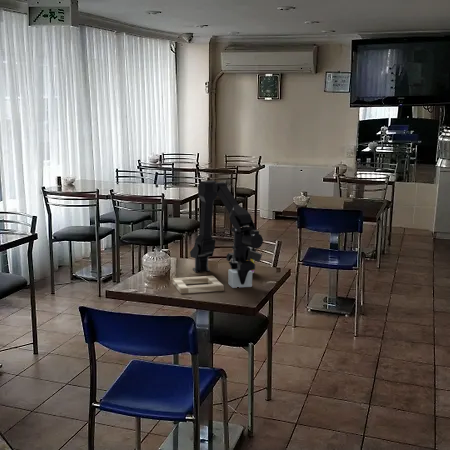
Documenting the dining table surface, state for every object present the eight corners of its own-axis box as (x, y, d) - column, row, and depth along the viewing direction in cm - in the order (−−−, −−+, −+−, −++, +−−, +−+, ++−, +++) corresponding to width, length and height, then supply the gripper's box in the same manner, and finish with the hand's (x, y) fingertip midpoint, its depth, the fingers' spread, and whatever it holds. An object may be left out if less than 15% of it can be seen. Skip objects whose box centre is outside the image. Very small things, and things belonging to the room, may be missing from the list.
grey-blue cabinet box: (228, 283, 244) (228, 268, 243) (246, 282, 246) (247, 267, 245) (232, 287, 238) (233, 272, 237) (251, 286, 241) (252, 270, 240)
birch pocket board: (172, 283, 244) (172, 278, 244) (212, 280, 249) (213, 275, 249) (180, 293, 230) (180, 288, 230) (223, 290, 235) (223, 285, 234)
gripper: (268, 248, 233) (267, 287, 236) (252, 238, 251) (251, 275, 253) (240, 249, 230) (240, 289, 233) (226, 239, 247) (225, 276, 250)
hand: (240, 282), depth 242 cm, fingers closed on grey-blue cabinet box, 6 cm apart
